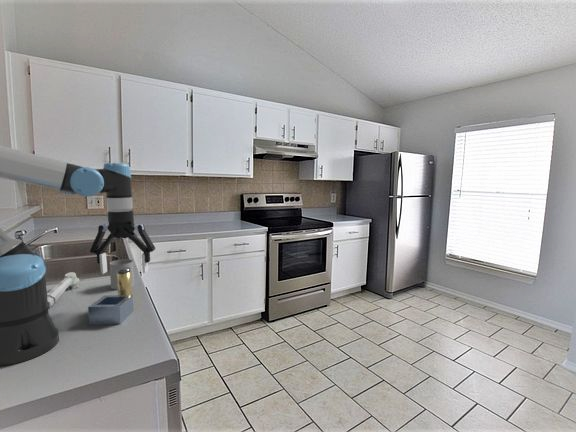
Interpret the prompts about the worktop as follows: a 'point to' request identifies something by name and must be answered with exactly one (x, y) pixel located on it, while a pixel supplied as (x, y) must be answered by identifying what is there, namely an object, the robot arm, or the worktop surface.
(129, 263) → the cup
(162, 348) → the worktop surface
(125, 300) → the open blue-gray rectangular box
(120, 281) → the olive tall cylinder
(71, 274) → the white knobby-ended rod
